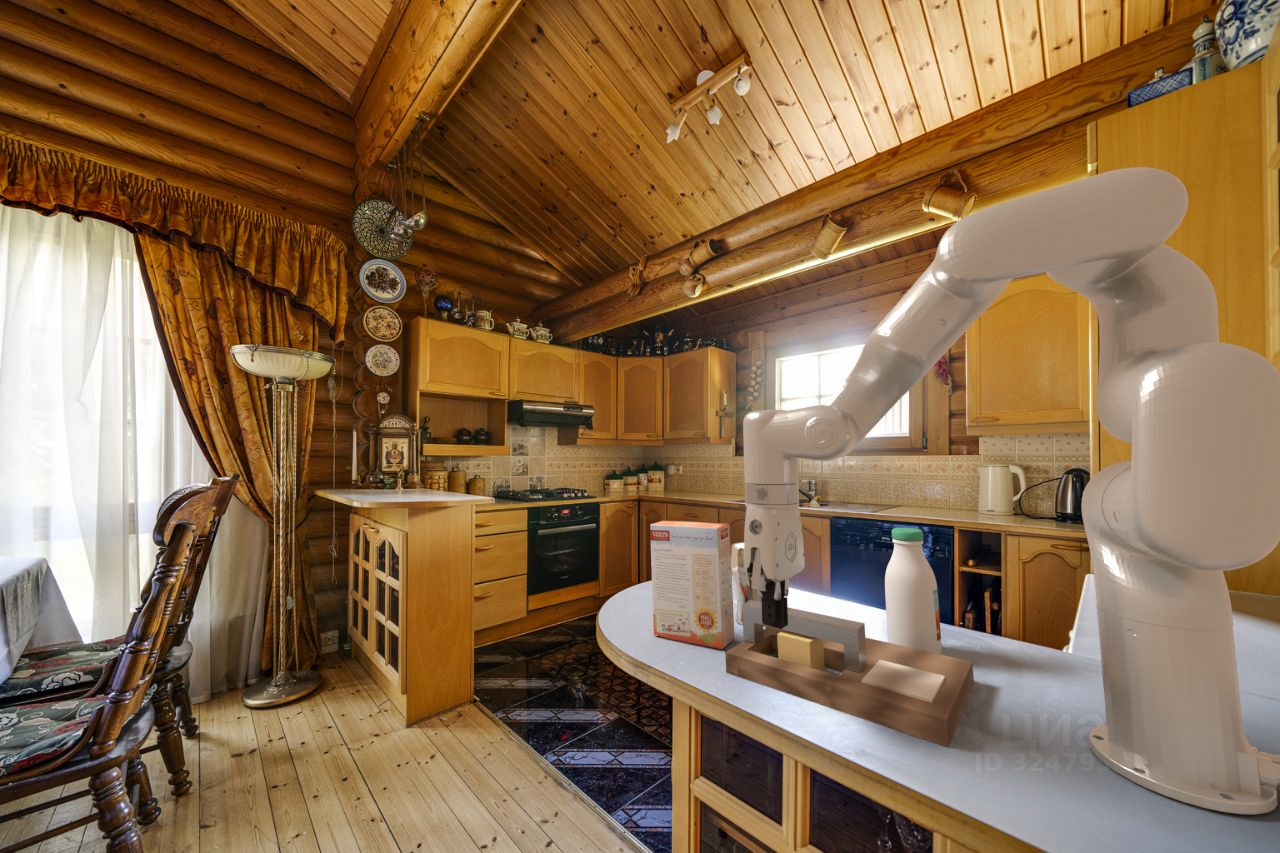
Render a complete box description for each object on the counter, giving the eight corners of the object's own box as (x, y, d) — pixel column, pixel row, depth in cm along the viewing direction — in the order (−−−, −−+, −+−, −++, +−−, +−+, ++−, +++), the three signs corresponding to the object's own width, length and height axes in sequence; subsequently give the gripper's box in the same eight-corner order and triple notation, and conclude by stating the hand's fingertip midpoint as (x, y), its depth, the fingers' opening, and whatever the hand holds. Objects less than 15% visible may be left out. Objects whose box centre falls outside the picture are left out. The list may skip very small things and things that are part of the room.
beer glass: (770, 628, 90) (767, 548, 91) (733, 626, 91) (730, 548, 92) (768, 616, 97) (764, 542, 98) (733, 614, 98) (730, 541, 99)
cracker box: (735, 639, 85) (731, 522, 86) (722, 651, 80) (718, 527, 81) (668, 626, 93) (664, 518, 94) (652, 636, 88) (648, 523, 89)
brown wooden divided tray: (974, 683, 67) (972, 659, 67) (948, 747, 53) (946, 716, 53) (782, 635, 86) (781, 616, 87) (726, 672, 72) (725, 650, 73)
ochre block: (824, 672, 72) (822, 632, 72) (811, 684, 68) (809, 642, 68) (793, 663, 75) (791, 624, 75) (779, 674, 71) (777, 634, 72)
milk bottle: (932, 665, 73) (924, 534, 74) (880, 651, 78) (873, 529, 80) (948, 651, 78) (940, 528, 79) (898, 638, 84) (891, 524, 85)
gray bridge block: (866, 665, 67) (864, 623, 67) (859, 672, 64) (857, 629, 65) (752, 635, 79) (751, 599, 79) (743, 640, 77) (742, 604, 77)
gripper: (771, 501, 60) (775, 649, 59) (817, 493, 71) (821, 617, 70) (720, 498, 65) (723, 634, 64) (771, 490, 76) (774, 606, 75)
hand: (775, 624), depth 67 cm, fingers closed
